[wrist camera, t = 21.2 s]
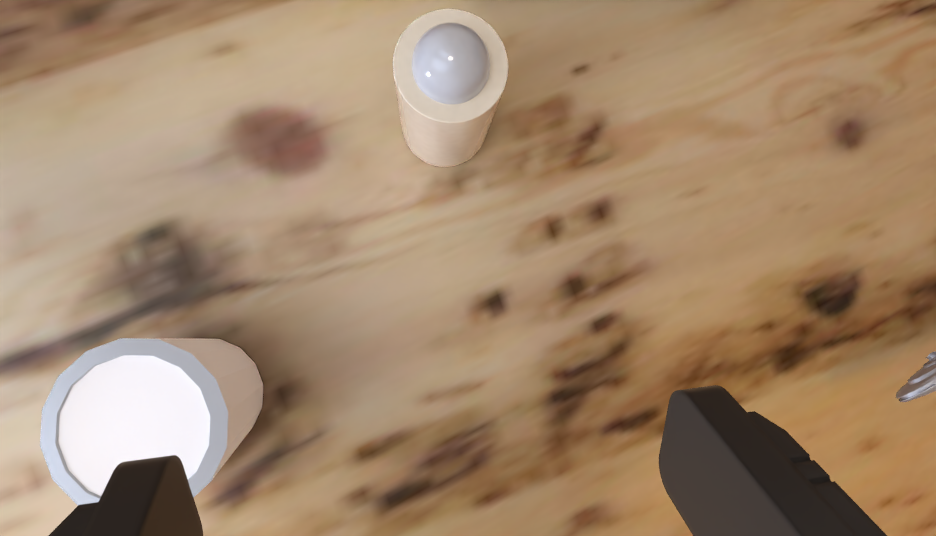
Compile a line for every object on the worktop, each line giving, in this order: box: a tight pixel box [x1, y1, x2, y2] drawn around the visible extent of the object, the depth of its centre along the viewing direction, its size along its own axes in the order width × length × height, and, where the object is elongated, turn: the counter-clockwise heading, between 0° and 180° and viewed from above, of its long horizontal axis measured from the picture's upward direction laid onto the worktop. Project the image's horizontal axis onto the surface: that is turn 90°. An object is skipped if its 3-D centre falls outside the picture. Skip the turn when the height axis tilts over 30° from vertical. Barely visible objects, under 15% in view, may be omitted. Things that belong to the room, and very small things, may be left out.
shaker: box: [393, 9, 509, 167], centre depth 25 cm, size 4×4×10 cm
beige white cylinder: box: [40, 338, 263, 505], centre depth 25 cm, size 7×7×7 cm
